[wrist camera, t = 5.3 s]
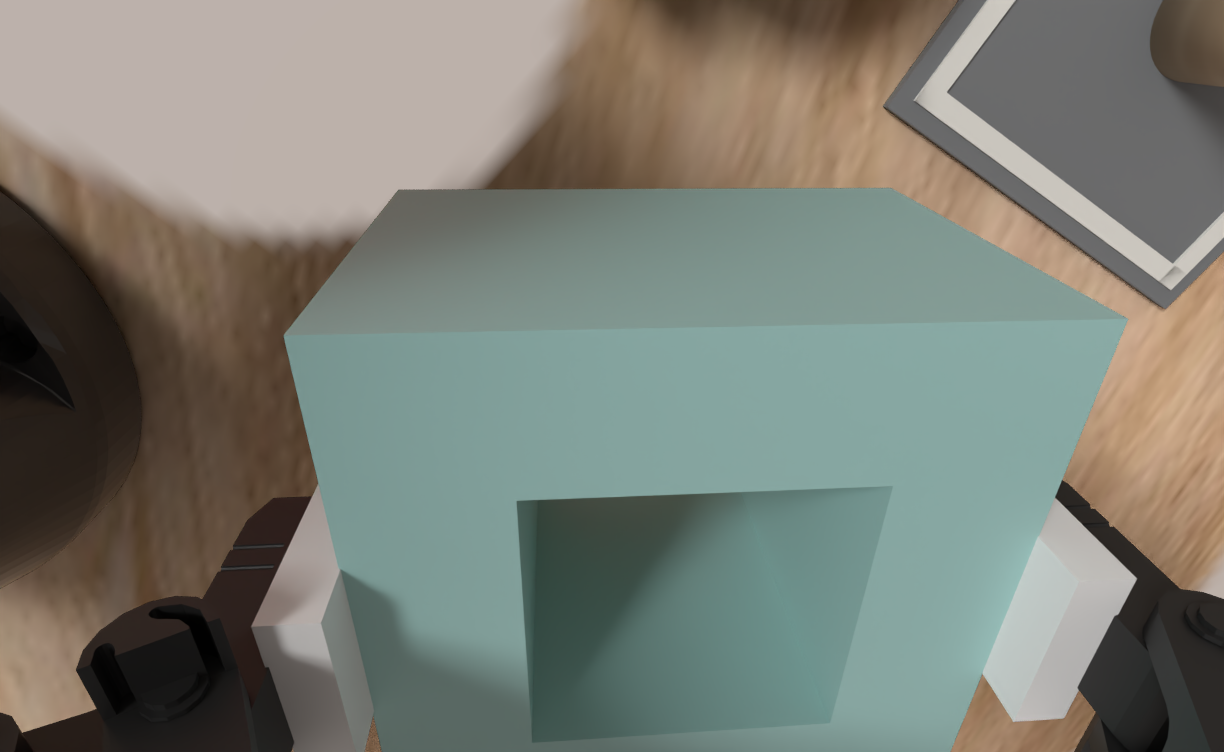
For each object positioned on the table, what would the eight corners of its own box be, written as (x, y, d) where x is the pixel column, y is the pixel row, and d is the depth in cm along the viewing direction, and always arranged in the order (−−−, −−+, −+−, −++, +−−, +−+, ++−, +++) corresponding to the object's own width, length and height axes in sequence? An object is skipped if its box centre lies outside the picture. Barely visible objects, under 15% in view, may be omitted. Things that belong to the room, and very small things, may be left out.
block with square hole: (448, 568, 16) (402, 835, 11) (398, 189, 12) (283, 334, 7) (815, 551, 17) (932, 795, 12) (891, 187, 13) (1127, 318, 8)
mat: (883, 105, 19) (888, 108, 19) (1262, -424, 14) (1280, -435, 14) (1158, 305, 22) (1167, 310, 22) (1535, -72, 18) (1555, -73, 17)
